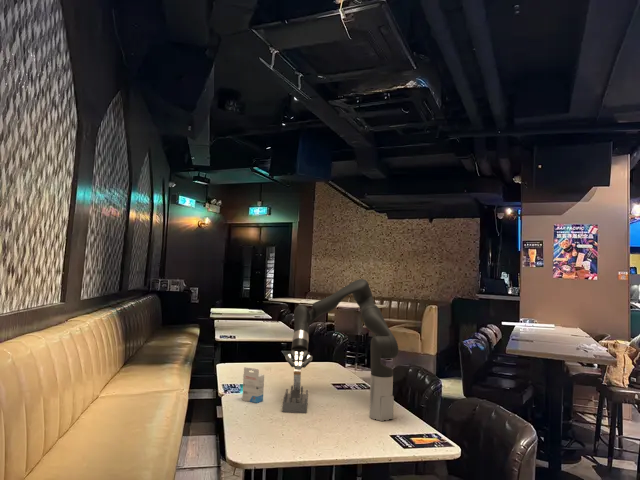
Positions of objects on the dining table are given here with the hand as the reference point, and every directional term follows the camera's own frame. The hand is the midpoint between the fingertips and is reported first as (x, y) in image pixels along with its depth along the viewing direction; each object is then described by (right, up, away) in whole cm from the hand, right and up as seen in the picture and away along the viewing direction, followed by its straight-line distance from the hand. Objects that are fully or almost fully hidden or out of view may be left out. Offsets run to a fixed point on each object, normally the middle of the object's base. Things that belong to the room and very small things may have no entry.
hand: (297, 374), depth 204 cm
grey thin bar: (0, -7, +2) cm, 7 cm away
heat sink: (-1, -13, -4) cm, 14 cm away
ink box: (-20, -13, +4) cm, 25 cm away
